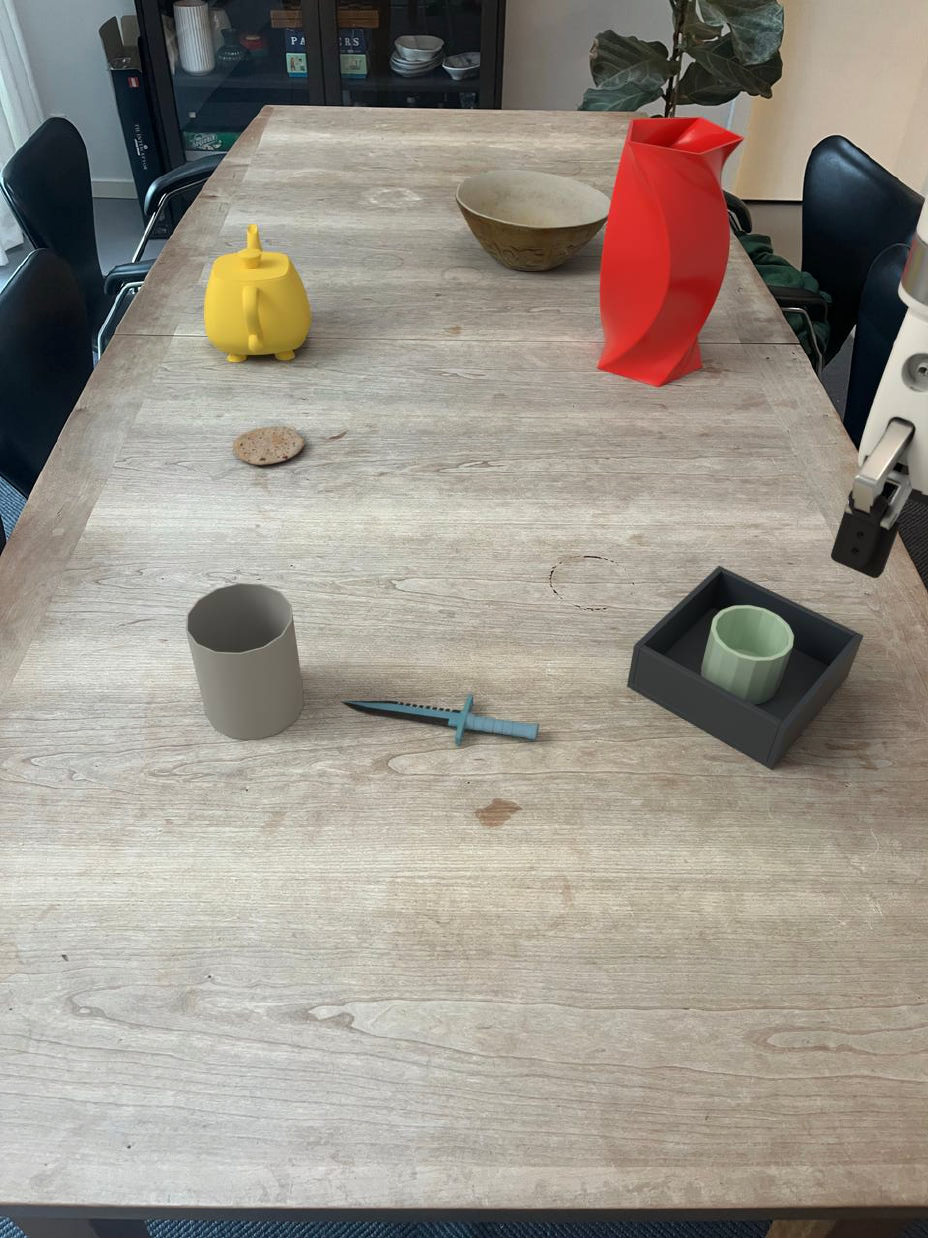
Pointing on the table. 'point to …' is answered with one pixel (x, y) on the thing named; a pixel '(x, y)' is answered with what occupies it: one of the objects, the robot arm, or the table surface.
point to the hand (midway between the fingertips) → (888, 532)
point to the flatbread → (268, 445)
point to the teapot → (256, 303)
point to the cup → (246, 660)
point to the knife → (447, 717)
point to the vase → (664, 247)
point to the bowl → (531, 216)
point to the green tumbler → (747, 652)
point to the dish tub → (758, 731)
